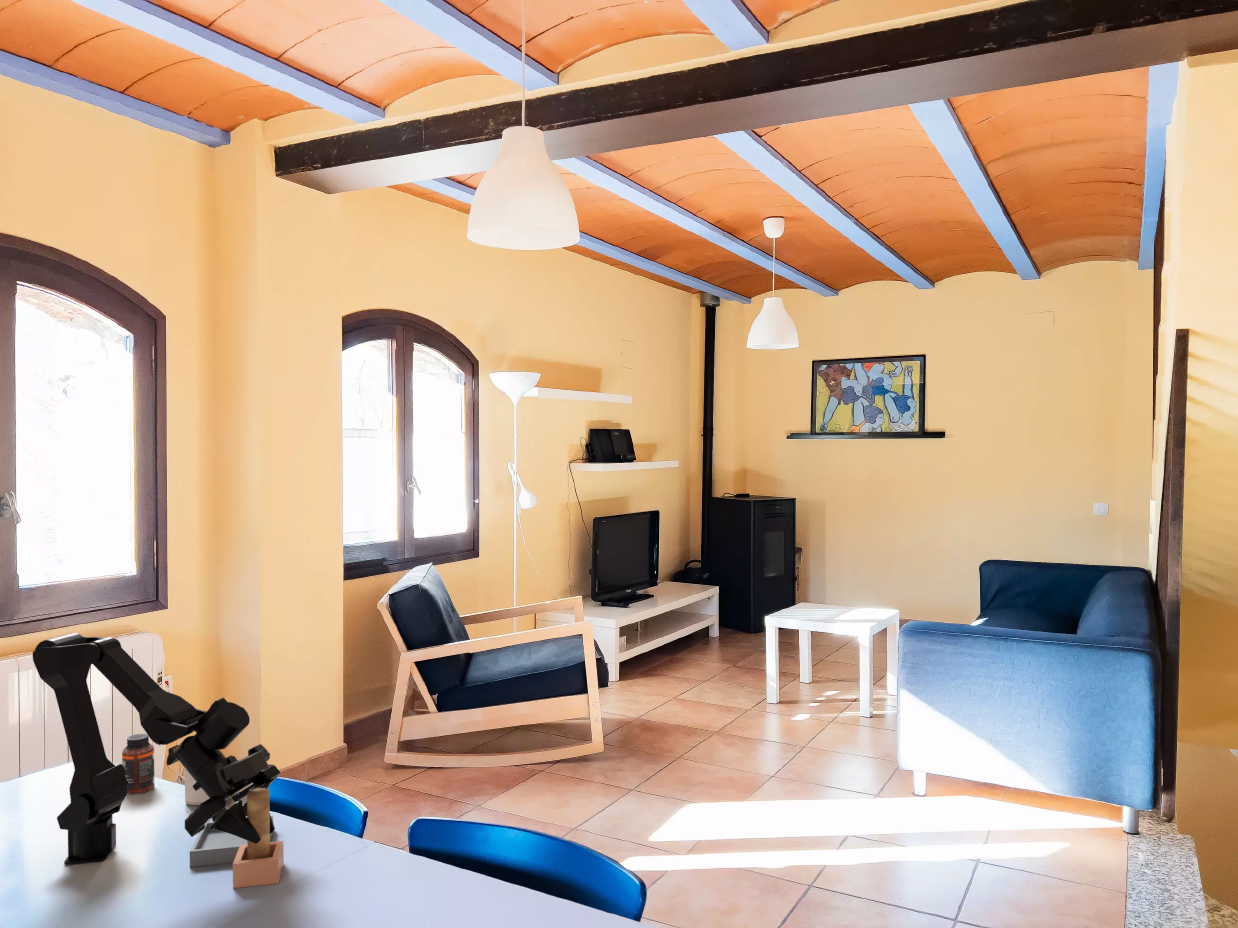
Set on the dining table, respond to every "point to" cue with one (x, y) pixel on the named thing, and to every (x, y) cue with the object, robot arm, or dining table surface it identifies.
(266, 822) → the oak dowel
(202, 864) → the tray
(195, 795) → the eye dropper bottle
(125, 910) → the dining table surface
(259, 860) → the terracotta socket
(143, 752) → the supplement bottle
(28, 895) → the dining table surface
